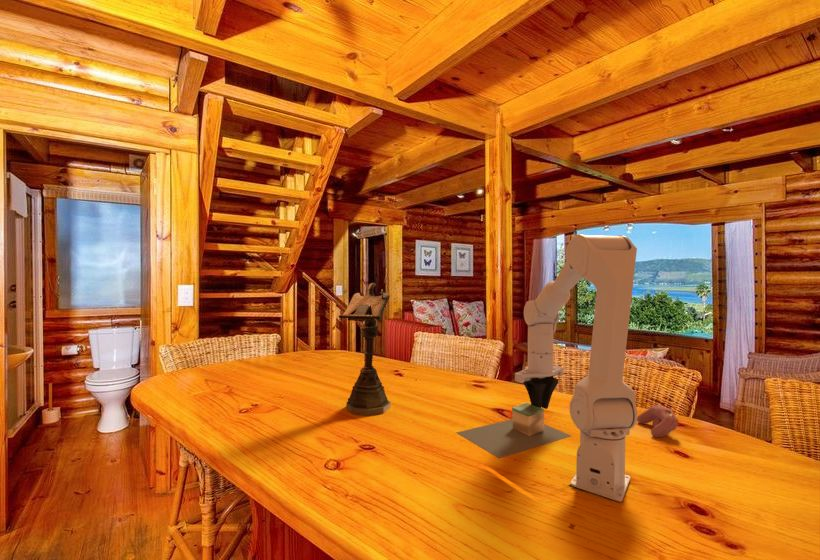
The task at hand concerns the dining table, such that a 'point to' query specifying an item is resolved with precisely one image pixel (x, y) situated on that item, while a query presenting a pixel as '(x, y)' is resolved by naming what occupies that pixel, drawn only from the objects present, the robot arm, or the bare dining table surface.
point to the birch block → (528, 419)
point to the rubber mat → (509, 438)
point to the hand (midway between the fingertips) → (539, 408)
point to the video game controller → (659, 420)
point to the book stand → (367, 354)
